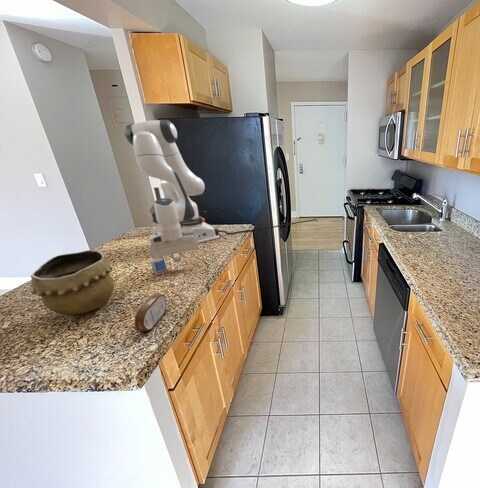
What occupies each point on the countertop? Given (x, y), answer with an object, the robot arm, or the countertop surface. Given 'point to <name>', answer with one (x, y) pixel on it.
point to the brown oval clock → (150, 312)
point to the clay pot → (74, 282)
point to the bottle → (157, 193)
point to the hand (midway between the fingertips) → (177, 261)
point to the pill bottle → (158, 265)
